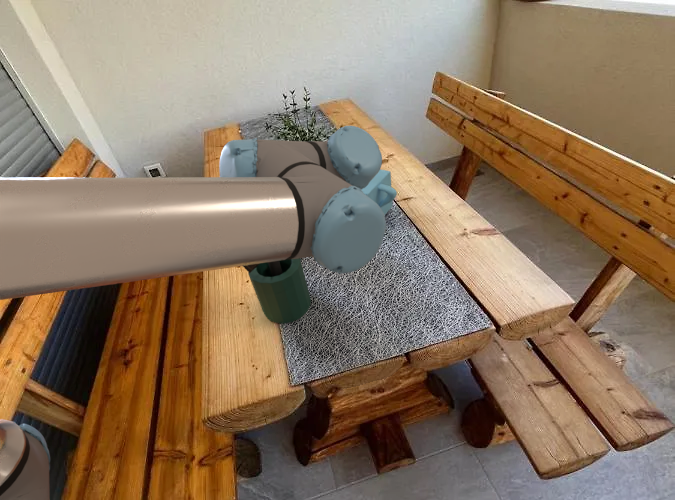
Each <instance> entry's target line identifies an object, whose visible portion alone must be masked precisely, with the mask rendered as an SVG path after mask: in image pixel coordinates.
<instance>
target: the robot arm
mask: <svg viewBox="0 0 675 500" xmlns="http://www.w3.org/2000/svg"><path fill="white" fill-rule="evenodd" d="M327 138H328V139H327V140H325V141H323V140H321V141H320V140H308V141H305V140H304V141H301V140H300V141H299V140H296V141H295V140H279V139H258V138H257V137H254V138H252V139H251V138H249V139H245V138H244V139H233V140H229V141H228V142H226V144H225V145H224V146H223V148H222V150H221V153H220V157H219V165H218V167H219V168H218V170H219V171H218V172H219V176H216V177H215V176H208V177H207V176H206V177H205V176H202V177H201V176H199V177H198V176H197V177H195V176H194V177H193V176H192V177H191V176H189V177H187V176H186V177H185V176H184V177H183V176H182V177H181V176H180V177H178V176H177V177H173V176H171V177H167V176H166V177H164V176H163V177H161V176H160V177H0V301H4V300H5V301H6V300H11V299H12V300H13V299H18V298H25V297H26V298H27V297H33V296H40V295H46V294H47V295H48V294H52V293H53V294H54V293H60V292H61V293H62V292H67V291H68V292H69V291H74V290H83V289H90V288H96V287H102V286H103V287H104V286H111V285H119V284H125V283H131V282H138V281H139V282H140V281H146V280H152V279H160V278H166V277H175V276H181V275H188V274H196V273H202V272H208V271H210V272H211V271H215V270H224V269H230V268H238V267H243V268H244V269H245V270H246V271H247V273H248V272H249V273H251V272H252V271H253V270H254V269H255V268H256V267H257V266H258V265H259V264H260V263H267V262H274V261H281V260H288V259H298V258H300V259H305V258H313V259H314V261H315V262H316V263H317V265H319V266H322V267H324V268H325V269H327V270H328V271H330V272H332V273H336V274H350V273H353V272H356V271H359V270H360V269H361V268H363V267H365V266H366V265H367V264H369V262H371V261H372V259H373V258H374V257H375V256H376V255H377V254H378V252H379V251H380V249H381V247H382V245H383V241H384V238H385V233H386V230H387V220H386V217H385V215H384V213H383V211H382V209H381V208H380V207H379V205H378V204H377V203H375V202H374V201H373V200H372V199H370V198H369V197H368V196H367V195H365V194H364V193H363V191H362V190H361V189H363V188H365V187H366V186H367V185H368V184H369V182H370V181H371V180H372V179H373V178H374V177H375V176H376V175H377V173H378V172H379V170H380V169H381V168H382V165H383V155H382V152H381V150H380V147H379V144H378V142H377V140H375V138H374V137H373V136H372V135H371V134H370V133H369V132H367V131H366V130H365V129H363V128H361V127H358V126H355V125H344V126H342V127H339V128H338V129H337V130H336V131H335V132H334V133H332V134H331V135H329V136H328V137H327ZM50 471H51V454H50V450H49V448H48V444H47V442H46V439H45V436H44V435H43V434H42V433H41V431H39V430H38V429H36V428H35V427H34V426H32V425H29V424H27V423H21V424H20V425H18V424H17V423H16V421H12V420H8V419H6V418H5V419H4V418H0V500H50V496H51V495H50Z"/></svg>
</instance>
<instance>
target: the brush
mask: <svg viewBox="0 0 675 500" xmlns="http://www.w3.org/2000/svg"><path fill="white" fill-rule="evenodd" d="M268 264H269V267H270V270H271V273H272V276H273V277H274V276H278V275H281V274H283V272H282V269H281V266H280V262H279V261H274V262H268Z"/></svg>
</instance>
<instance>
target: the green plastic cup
mask: <svg viewBox="0 0 675 500" xmlns="http://www.w3.org/2000/svg"><path fill="white" fill-rule="evenodd" d="M279 262H280V266H281V269H282V272H283V274H281V275H278V276H274V277H273V276H272V273H271V270H270V267H269V264H268V262H267V263H260V264H259V265H258V266H257V267H256V268H255V269H254V270H253V271H252V272H251V273H249V272H248V271H247V274H248V277H249V279H250V282H251V285H252V286H253V290H254V292H255V295H256V298H257V300H258V302H259V306H260V308H261V311H262V312H263V313H264V317H265V318H266V319H267V320H268V321H270V322H272V323H274V324H289V323H293V322H295V321H297V320H299V319H301V318H302V317H304V316H305V315H306V313H307V312H308V311H309V309H310V307H311V303H312V299H311V296H310V291H309V290H310V289H309V287H308V282H307V279H306V275H305V271H304V268H303V264H302V260H301V258H298V259H288V260H281V261H279Z"/></svg>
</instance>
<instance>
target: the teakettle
mask: <svg viewBox="0 0 675 500" xmlns="http://www.w3.org/2000/svg"><path fill="white" fill-rule="evenodd" d="M361 190H362V191H363V193H364V194H365V195H367V196H368V197H369V198H370V199H372V200H373V201H374V202H375V203H377V204H378V205H379V207H380V208H381V209H382V211H383V213H384V216H385V215H386V214H387V213H388V212H389V211H390V210H391V209H392V208H393V201H394V200H395V199H396V198H397V196H398V192H397V190H396V188H394V187H392V173H391V171H390V170H387V169H386V170H385V169H381V168H380V170H379V172H378V173H377V175H376V176H375V177H374V178H373V179H372V180H371V181H370V182H369V184H368V185H367V186H366V187H365V188H363V189H361Z"/></svg>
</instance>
